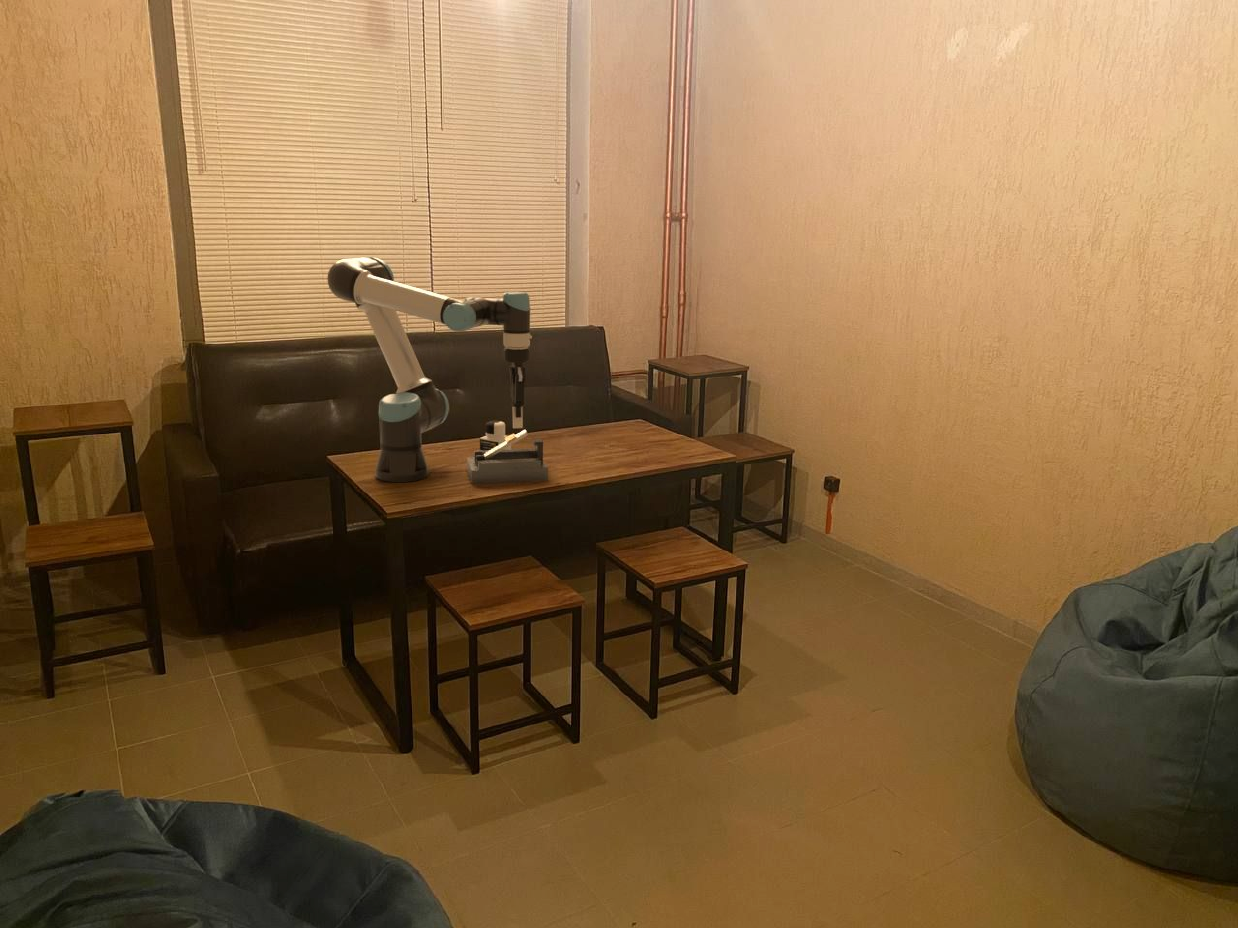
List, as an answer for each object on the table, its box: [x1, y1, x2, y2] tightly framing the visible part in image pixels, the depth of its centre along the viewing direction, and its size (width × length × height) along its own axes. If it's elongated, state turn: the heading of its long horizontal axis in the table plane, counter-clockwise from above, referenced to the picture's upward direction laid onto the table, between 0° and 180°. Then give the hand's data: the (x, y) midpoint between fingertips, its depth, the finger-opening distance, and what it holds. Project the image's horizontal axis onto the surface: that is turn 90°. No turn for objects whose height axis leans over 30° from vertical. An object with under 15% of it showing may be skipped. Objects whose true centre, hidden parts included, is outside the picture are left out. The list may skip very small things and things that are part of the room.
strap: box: [483, 429, 529, 460], centre depth 262 cm, size 17×4×2 cm, turn 104°
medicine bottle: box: [479, 420, 512, 451], centre depth 280 cm, size 7×7×12 cm
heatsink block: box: [466, 437, 549, 485], centre depth 264 cm, size 22×14×10 cm, turn 105°
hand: (517, 427), depth 262 cm, fingers closed
